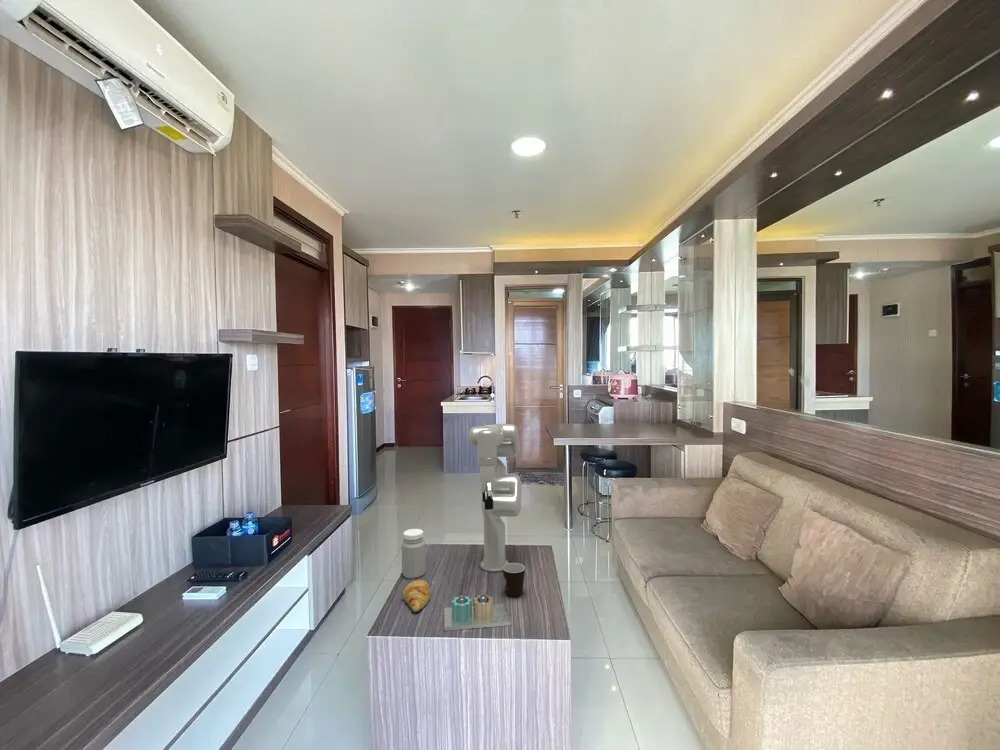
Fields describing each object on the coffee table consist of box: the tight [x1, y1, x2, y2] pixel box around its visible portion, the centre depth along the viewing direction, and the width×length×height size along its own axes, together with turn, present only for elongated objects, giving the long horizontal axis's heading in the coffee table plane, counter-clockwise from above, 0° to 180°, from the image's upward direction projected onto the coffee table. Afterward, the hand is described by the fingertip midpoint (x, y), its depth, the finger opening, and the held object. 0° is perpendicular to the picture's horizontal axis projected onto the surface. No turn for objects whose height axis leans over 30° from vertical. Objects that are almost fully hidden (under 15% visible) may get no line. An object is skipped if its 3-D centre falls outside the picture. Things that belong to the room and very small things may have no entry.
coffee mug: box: [502, 562, 526, 599], centre depth 165 cm, size 12×9×10 cm
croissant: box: [402, 578, 431, 613], centre depth 160 cm, size 21×10×8 cm, turn 11°
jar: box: [401, 528, 426, 580], centre depth 181 cm, size 10×10×18 cm
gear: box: [451, 595, 473, 621], centre depth 147 cm, size 7×7×5 cm
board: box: [443, 594, 511, 632], centre depth 147 cm, size 12×22×7 cm, turn 97°
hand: (487, 505), depth 166 cm, fingers open, 9 cm apart
